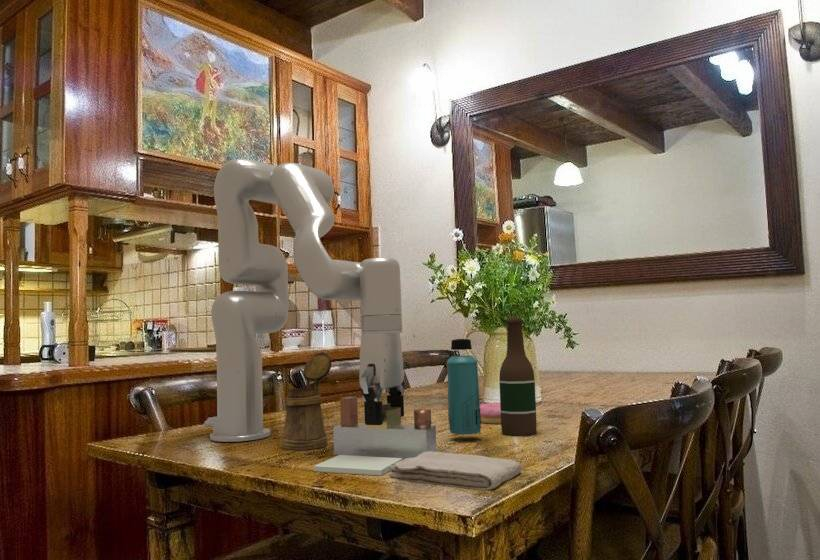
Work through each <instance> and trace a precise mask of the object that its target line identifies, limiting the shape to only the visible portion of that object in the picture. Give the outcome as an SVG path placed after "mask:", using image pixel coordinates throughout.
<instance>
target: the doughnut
mask: <svg viewBox="0 0 820 560" xmlns="http://www.w3.org/2000/svg"><path fill="white" fill-rule="evenodd" d="M480 414H481V424H482V423H483V424H489V425H501V408H500V402H495V401H493V402H489V403H488V402H487V403H482V404H480Z"/></svg>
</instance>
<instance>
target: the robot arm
mask: <svg viewBox="0 0 820 560" xmlns="http://www.w3.org/2000/svg"><path fill="white" fill-rule="evenodd" d="M334 194H335V186H334V182H333V180H332V178H331V177H330V175H329V174H328V173H327V172H325V170H321V169H319V168H315V167H313V166H312V167H311V166H309V165H308V166H307V165H304V164H301V163H296V162H285V163H281V164H278V165H274V164H271V163H267V162H264V161H263V162H262V161H258V160H255V159H251V158H240V157H239V158H233V159H230V160H228V161H226V162H225V163H223V165H221V167H220V169H219V170H218V172H217V174H216V176H215V180H214V185H213V195H214V203H215V208H216V213H217V214H216V215H217V223H218V226H217V227H218V228H217V229H218V232H217V237H218V239H217V240H218V241H217V242H218V243H217V244H218V245H217V246H218V248H217V249H218V256H217V257H218V271H219V276H220V278H221V279H222V280H223V281H224V282H226V283H229V284H232V285H241V286H243V285H244V286H245V285H246V286H255V291H253V290H229V291H225V292H223V293H221V294H219V295H218V296H217V297H216V298H215V299H214V301H213V303H212V305H211V310H210V311H211V312H210V315H211V316H210V317H211V322H212V327H213V332H214V339H215V348H216V351H215V353H216V400H217V401H216V407H217V408H216V411H217V412H216V415H217V416H212V417H210V416H209V417H207V419H206V420H205V421H204V423H203V426H204V427H206V428H212V429H213V430H212V432H210V434H209V439H210V440H211V441H213V442H219V443H220V442H222V443H237V442H246V441H247V442H249V441H255V440H261V439H265V438H268V437H269V436H271V429H270V428H269V427H268V428H267V427H264V416H263V415H264V412H263V411H264V406H263V405H264V404H263V402H264V400H263V399H264V398H263V396H264V395H263V354H262V349H261V346H260V344H259V342H258V340H257V338H256V336H255V335H256V334H258V335H260V334H272V333H277V332H278V331H280V330H282V329H283V327H285V324H286V322H287V319H288V316H289V270H288V262H287V259H286V257H285V254H284V252H282V250H281V249H279V248H278V247H276V246H274V245H271V244H264V243H260V240H259V223H258V219H257V216H256V214H255V211H254V209H253V207H252V206H251V204H250V202H249V201H250V200H251V201H256V202H261V203H265V204H266V203H267V204H272V205H278V206H280V208H281V210H282V212H283V213H284V215H285V217H286V219H287V220H288V222H289V224H290V226H291V227H292V229H293V232H294V233H295V236H294V240H293V245H292V247H293V248H292V250H293V252H292V253H293V254H292V255H293V262H294V265H295V268H296V270H297V271H298V274H299V275H300V276H301V278H302V280H303V282H304V283H305V285H306V287H307V288H308V290H309V291H310V292H311V293H312V294H313V295H314V296H315V297H316V298H318V299H321V300H324V301H346V302H360V303H359V304H360V305H359V306H360V328H361V333H360V334H361V339H360V346H359V366H358V367H359V369H358V370H359V372H358V373H359V375H358V376H359V380H358V381H359V387H360V391H361V394H362V402H363V405H364V410H363V411H364V423H365V424H366V425H382V424H383V414H382V403H383V401H381V397H382V394H383V390H387V392H388V394H387V395H386V403H391V407H401V418H403V417H404V416H405V402H404V401H405V399H404V394H405V389H404V387H405V381H404V378H405V373H406V372H405V369H404V358H403V357H404V356H403V346H402V339H401V334H403V315H402V314H403V313H402V311H403V310H402V288H401V286H402V285H401V284H402V283H401V267H400V263H399V261H398V260H397V259H395V258H391V257H373V258H372V257H370V258H367V259H364V260H362V261H361V262H358V261H349V260H342V259H332V258H331V256H330V255H329V253H328V251H327V250H326V248H325V247H324V245H323V243H322V241H321V238H322V237H324V236H325V235H326V234H327V233H328V232H330V231H331V229H332V228H333V226H334V224H335V221H336V219H335V218H336V217H335V214H334V212H333V211H332V209H331V208H330V203H331V202H332V200H333V197H334Z"/></svg>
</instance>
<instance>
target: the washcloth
mask: <svg viewBox="0 0 820 560" xmlns="http://www.w3.org/2000/svg"><path fill="white" fill-rule="evenodd" d="M521 471H522V465H521V464H520V462H518V461H516V460H513V459H509V458H507V459H506V458H500V457H499V458H498V457H489V456H484V455H475V454H466V453H465V454H463V453H453V452H452V453H451V452H450V453H449V452H441V451H436V452H433V451H428V452H424V453H422V454H419V455H418V456H417V457H414V458H403V460H402V461H400V462H397V463H395V465H391V466H390V471H388V476H389V477H391V478H393V479H397V480H404V481H410V482H416V483H424V484H430V485H431V484H432V485H439V486H447V487H456V488H457V487H458V488H463V489H464V488H465V489H472V490H479V491H489V490H494V489H495V488H497V487H499V486H500V485H501V484H503V483H504V482H507V481H510V480H511V479H513V478H515V477H517V476H518V475H519V474H520V473H521Z"/></svg>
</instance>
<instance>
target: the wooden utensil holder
mask: <svg viewBox="0 0 820 560" xmlns="http://www.w3.org/2000/svg"><path fill="white" fill-rule="evenodd" d="M332 364H333V363H332V359H331V357H330V356H329V355H328V354H327V353H326V352H324V351H321V352H319V353H316V354H315V355H313V356H312V357H310V358H309V359H308V360H307V362H306V363H305V365H304V367H303V368H304V369H303V376H304V378H305V379H306V381H307V382H306V386H305V387H304V388H303V387H301V388H300V387H299V388H298V387H296V388H288V390H287V395H286V397H285V405H286V410H285V411H286V412H285V419H284V421H285V422H284V430H283V437H282V440H281V441H282V442H281V448H282V449H284V450H289V451H309V450H316V449H321V448H325V447H326V446H327V445H328V437H327V434H326V432H325V425H324V418H323V411H322V405H321V404H322V397H321V396H322V395H321V394H320V389H319V385H320V382H321V380H324V379H325V378H326V377H327V376H328V374H329V373H330V371H331V369H332V368H331V367H332Z"/></svg>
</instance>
